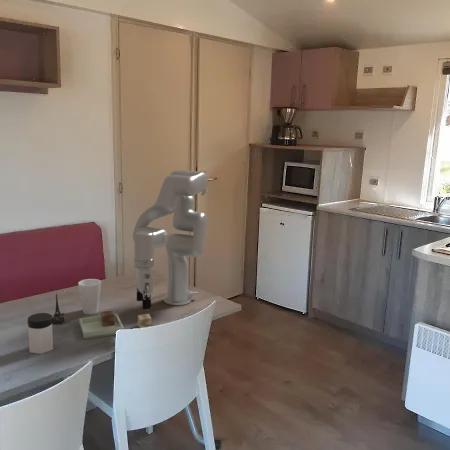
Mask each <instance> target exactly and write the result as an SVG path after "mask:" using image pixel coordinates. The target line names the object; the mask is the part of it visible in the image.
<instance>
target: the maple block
mask: <svg viewBox="0 0 450 450" xmlns="http://www.w3.org/2000/svg"><path fill="white" fill-rule="evenodd" d="M152 320H153V319H152V317H151V315H150V314H149V313H145V314H138V315H137V326H138V328H139V327H148V326H152Z"/></svg>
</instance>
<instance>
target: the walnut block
mask: <svg viewBox="0 0 450 450" xmlns="http://www.w3.org/2000/svg"><path fill="white" fill-rule="evenodd" d="M114 314H115V313H114V310H104V311H101V312H100V316H101V322H102V325H103V327H104V326H112V325H114Z"/></svg>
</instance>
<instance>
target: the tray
mask: <svg viewBox="0 0 450 450" xmlns="http://www.w3.org/2000/svg"><path fill="white" fill-rule="evenodd" d="M78 320H79V321H78V323H79V327H80V331H81V333H82V337H83V340H88V339H97V338H103V337H110V336H116V335H115V333H116V331H117V330H119V329H124V330H125V327H124V325H123V323H122V320H121V319H120V317H119V315H118V313H114V325H112V326H104V327H103V325H102V322H101V315H97V316H87V317H81V318H79V319H78Z"/></svg>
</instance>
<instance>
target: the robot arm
mask: <svg viewBox="0 0 450 450" xmlns="http://www.w3.org/2000/svg"><path fill="white" fill-rule="evenodd" d="M208 181H209V180H208V175H207V174H206V173H205V172H203V171H196V170H184V169H182V170H181V169H179V170H178V169H177V170H173V171H172V172H171V173H170V174H169V175H167V176H165V178H164V180H163V182H162V184H161V187H160V190H159V193H158V196H157V198H156V201H155V203H154V204H153V205H151V206H150V207H148V208H147V209H146V210H145V211H144V212H142V213H141V214H140V216H139V217H138V219H137V220H136V223H135V226H134V228H133V233H132V240H133V242H134V246H133V247H134V249H133V250H134V252H133V253H134V255H133V257H134V259H133V260H134V261H133V263H134V264H133V267H134V268H135V269H136V271H135V273H136V274H135V277H136V278H135V285H136V301H137V302H141V303H142V306H141V307H142V310H151V308H152V293H154V272H153V268H154V267H155V249H159V248H163V247H165V251H166V257H167V258H166V262H167V263H166V265H167V269H166V271H167V275H166V276H167V278H166V280H167V283H166V285H167V286H166V288H167V289H166V291H167V292H166V295H165V296H164V297H163V302H164V303H165V304H167V305H169V306H184V305H188V304H190V303H191V302H192V297H193V296H194V297H196V296H199V292H198V291H194V290H189V262H188V258H187V257H190V258H200V257H201V256H202V255H203V252H204V249H205V244H206V237H207V232H208V221H209V220H208V217H207V215H206V213H204V212H203V211H202V212H201V211H197V210H196V211H195V210H194V208H195V197H194V196H196V195H198V194H200V193H202V192H203V191H204V190H205V189H206V188H207V186H208ZM172 214H173V216H172V228H173V229H174V230H175V231H179V232H187V233H192V234H191V235H190V234H185V233H171V234H169V233H168V231H167V230H166V229H163V228H159V227H158V228H157V227H150V226H149V225H150V223H152V222H153V221H155V220H158V219H159V218H163V217H166V216H169V215H172Z"/></svg>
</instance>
